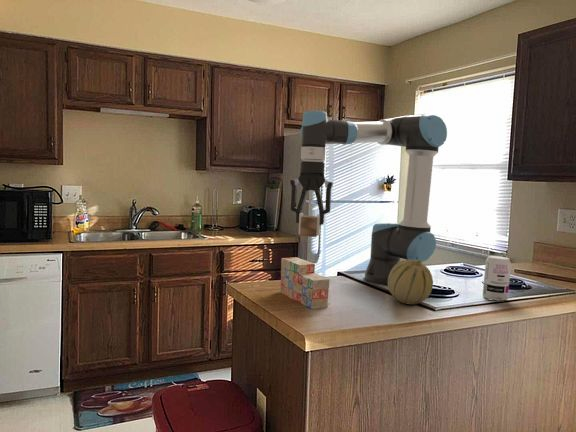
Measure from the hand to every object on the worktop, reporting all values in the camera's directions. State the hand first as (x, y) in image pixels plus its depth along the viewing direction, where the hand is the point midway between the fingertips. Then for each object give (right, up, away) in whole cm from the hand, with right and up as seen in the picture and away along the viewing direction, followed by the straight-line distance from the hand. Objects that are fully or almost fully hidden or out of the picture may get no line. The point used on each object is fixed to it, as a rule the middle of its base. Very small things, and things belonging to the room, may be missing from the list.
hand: (309, 234), depth 154 cm
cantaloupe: (+33, -24, +7) cm, 42 cm away
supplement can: (+67, -24, +19) cm, 74 cm away
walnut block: (0, 0, 0) cm, 0 cm away
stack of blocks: (-2, -22, +5) cm, 23 cm away
